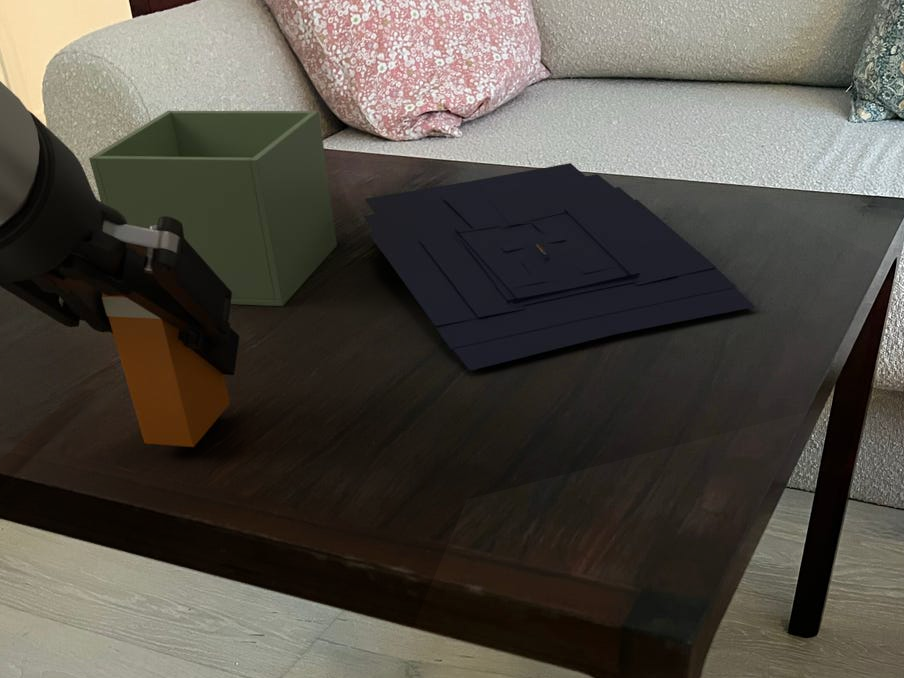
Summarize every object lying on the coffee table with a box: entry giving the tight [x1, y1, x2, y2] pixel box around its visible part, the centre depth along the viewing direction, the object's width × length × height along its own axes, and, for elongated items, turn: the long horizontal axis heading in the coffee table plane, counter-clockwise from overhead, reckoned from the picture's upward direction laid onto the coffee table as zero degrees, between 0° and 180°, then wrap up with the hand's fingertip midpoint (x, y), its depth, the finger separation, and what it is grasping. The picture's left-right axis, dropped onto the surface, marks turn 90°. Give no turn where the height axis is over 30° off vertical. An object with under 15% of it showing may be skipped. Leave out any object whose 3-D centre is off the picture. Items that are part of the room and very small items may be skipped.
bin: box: [88, 110, 338, 307], centre depth 90 cm, size 14×14×12 cm
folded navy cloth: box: [362, 162, 756, 371], centre depth 88 cm, size 24×30×4 cm
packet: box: [102, 293, 231, 448], centre depth 67 cm, size 4×6×10 cm, turn 167°
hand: (201, 353), depth 71 cm, fingers closed on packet, 4 cm apart
